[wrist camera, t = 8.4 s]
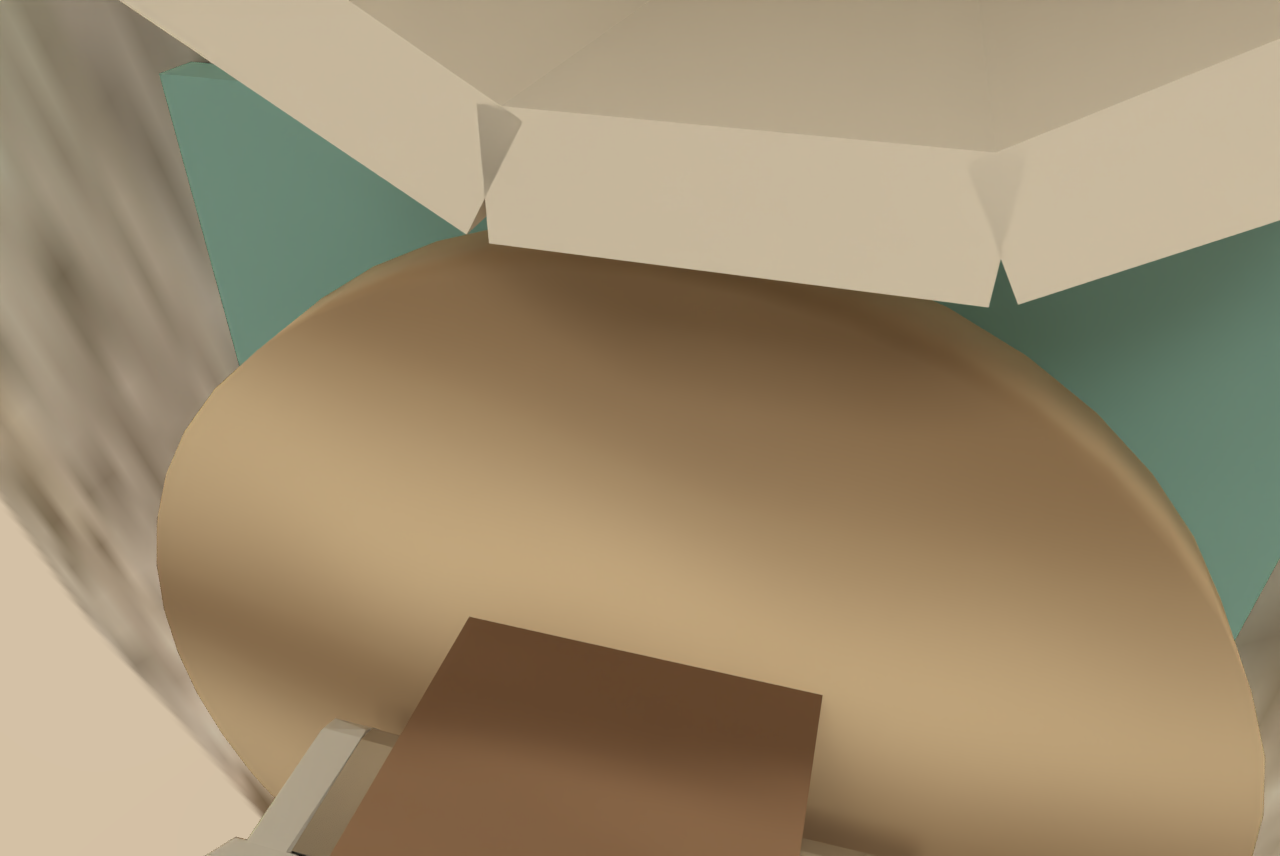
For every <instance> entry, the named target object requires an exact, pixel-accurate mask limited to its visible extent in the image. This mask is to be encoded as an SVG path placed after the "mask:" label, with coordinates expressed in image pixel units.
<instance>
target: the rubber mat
mask: <svg viewBox="0 0 1280 856" xmlns="http://www.w3.org/2000/svg"><path fill="white" fill-rule="evenodd" d="M159 75H160V79H161V82H162V86H163V90H164V93H165V97H166V101H167V104H168V108H169V112H170V115H171V119H172V122H173V126H174V130H175V133H176V137H177V141H178V144H179V148H180V152H181V155H182V159H183V163H184V166H185V170H186V173H187V177H188V181H189V184H190V188H191V192H192V195H193V199H194V203H195V206H196V210H197V213H198V217H199V221H200V224H201V228H202V232H203V235H204V239H205V243H206V246H207V250H208V253H209V257H210V261H211V264H212V268H213V272H214V275H215V279H216V283H217V286H218V290H219V294H220V297H221V301H222V304H223V308H224V312H225V315H226V319H227V323H228V326H229V330H230V334H231V337H232V341H233V344H234V348H235V352H236V355H237V359H238V363H239V366H241V365H242V364H243V363H244V362H245V361H246V360H247V359H248V358H249V357H250V356H252V355H253V354H254V353H255V352H256V351H257V350H258V349H260V348H261V347H262V346H263V345H265V344H266V343H267V342H268V341H269V340H271V339H272V338H273V337H274V336H276V335H277V334H278V333H279V332H281V331H282V330H283V329H284V328H286V327H287V326H288V325H289V324H290V323H292V322H293V321H294V320H295V319H297V318H298V317H299V316H300V315H302V314H303V313H304V312H305V311H307V310H308V309H309V308H310V307H311V306H313V305H314V304H315V303H316V302H318V301H319V300H320V299H321V298H323V297H324V296H326V295H328V294H329V293H331V292H333V291H334V290H336V289H338V288H339V287H341V286H342V285H344V284H346V283H347V282H349V281H351V280H352V279H354V278H355V277H357V276H359V275H360V274H362V273H364V272H365V271H367V270H369V269H370V268H372V267H373V266H376V265H378V264H381V263H383V262H386V261H388V260H391V259H393V258H396V257H398V256H401V255H403V254H406V253H408V252H411V251H413V250H416V249H418V248H421V247H423V246H426V245H428V244H431V243H434V242H436V241H440V240H444V239H449V238H453V237H458V236H462V235H466V234H465V233H463V232H462V231H460V230H459V229H457V228H456V227H455V226H453V225H452V224H450V223H449V222H447V221H446V220H444V219H443V218H441V217H440V216H438V215H437V214H435V213H434V212H432V211H431V210H429V209H428V208H426V207H425V206H423V205H422V204H420V203H419V202H417V201H416V200H414V199H413V198H411V197H410V196H409V195H407V194H406V193H404V192H403V191H401V190H400V189H398V188H397V187H395V186H394V185H392V184H391V183H389V182H388V181H386V180H385V179H383V178H382V177H380V176H379V175H377V174H376V173H374V172H373V171H371V170H370V169H368V168H367V167H365V166H364V165H363V164H361V163H360V162H358V161H357V160H355V159H354V158H352V157H351V156H349V155H348V154H346V153H345V152H343V151H342V150H340V149H339V148H337V147H336V146H334V145H333V144H331V143H330V142H328V141H327V140H325V139H324V138H322V137H321V136H319V135H318V134H317V133H315V132H314V131H312V130H311V129H309V128H308V127H306V126H305V125H303V124H302V123H300V122H299V121H297V120H296V119H294V118H293V117H291V116H290V115H288V114H287V113H285V112H284V111H282V110H281V109H279V108H278V107H276V106H275V105H274V104H272V103H271V102H269V101H268V100H266V99H265V98H263V97H262V96H260V95H259V94H257V93H256V92H254V91H253V90H251V89H250V88H248V87H247V86H245V85H244V84H242V83H241V82H239V81H238V80H236V79H235V78H233V77H232V76H230V75H229V74H228V73H226V72H225V71H223V70H222V69H220V68H219V67H217V66H216V65H214V64H211V63H200V62H190V63H187V64H184V65H181V66H179V67H176V68H173V69H170V70H168V71H165V72H162V73H159ZM484 230H488V227H487V216H486V217H485V218H484V219H483V220H482V221H481V222H480V223H479V224H478V225H477V226H475V227H474V228H473V229H472V230H471V231H470V232H469V233H468V234H471V233H475V232H480V231H484ZM933 301H934V300H933ZM935 302H937V303H939V304H941V305H944V306H946V307H948V308H950V309H951V310H953V311H955V312H956V313H958V314H959V315H961V316H963V317H964V318H966V319H968V320H969V321H971V322H972V323H974V324H976V325H977V326H979V327H981V328H982V329H984V330H985V331H987V332H989V333H990V334H992V335H994V336H995V337H997V338H998V339H1000V340H1002V341H1003V342H1005V343H1007V344H1008V345H1010V346H1011V347H1013V348H1015V349H1016V350H1018V351H1020V352H1021V353H1023V354H1024V355H1026V356H1028V357H1029V358H1030V359H1031V360H1033V361H1034V362H1035V363H1036V364H1038V365H1039V366H1040V367H1041V368H1042V369H1044V370H1045V371H1046V372H1047V373H1049V374H1050V375H1051V376H1052V377H1053V378H1055V379H1056V380H1057V381H1058V382H1060V383H1061V384H1062V385H1063V386H1064V387H1066V388H1067V389H1068V390H1069V391H1071V392H1072V393H1073V394H1074V395H1075V396H1077V397H1078V398H1079V399H1080V400H1082V401H1083V402H1084V403H1085V404H1086V405H1088V406H1089V407H1090V408H1091V409H1093V410H1094V411H1095V412H1096V413H1097V414H1098V415H1099V416H1100V417H1101V418H1102V419H1103V420H1104V421H1105V422H1106V424H1107V425H1108V426H1109V427H1110V428H1111V429H1112V430H1113V431H1114V432H1115V433H1116V434H1117V436H1118V437H1119V438H1120V439H1121V440H1122V441H1123V442H1124V443H1125V444H1126V445H1127V446H1128V448H1129V449H1130V450H1131V451H1132V452H1133V453H1134V454H1135V455H1136V456H1137V457H1138V459H1139V460H1140V461H1141V462H1142V463H1143V464H1144V465H1145V466H1146V467H1147V468H1148V469H1149V471H1150V472H1151V473H1152V474H1153V475H1154V477H1155V478H1156V480H1157V481H1158V483H1159V484H1160V486H1161V487H1162V489H1163V490H1164V492H1165V494H1166V495H1167V497H1168V498H1169V500H1170V501H1171V503H1172V504H1173V506H1174V507H1175V509H1176V510H1177V512H1178V513H1179V515H1180V516H1181V518H1182V519H1183V521H1184V522H1185V524H1186V525H1187V527H1188V528H1189V530H1190V531H1191V533H1192V535H1193V536H1194V538H1195V540H1196V543H1197V545H1198V547H1199V550H1200V552H1201V554H1202V557H1203V559H1204V561H1205V564H1206V566H1207V568H1208V571H1209V573H1210V575H1211V578H1212V580H1213V582H1214V585H1215V587H1216V589H1217V592H1218V594H1219V596H1220V599H1221V601H1222V604H1223V607H1224V610H1225V613H1226V616H1227V619H1228V622H1229V625H1230V628H1231V631H1232V635H1233V638H1234V641H1235V639H1236V637H1237V635H1238V634H1239V632H1240V630H1241V628H1242V626H1243V625H1244V623H1245V621H1246V619H1247V617H1248V615H1249V614H1250V612H1251V610H1252V608H1253V606H1254V604H1255V603H1256V601H1257V599H1258V597H1259V595H1260V593H1261V592H1262V590H1263V588H1264V586H1265V584H1266V582H1267V581H1268V579H1269V577H1270V575H1271V573H1272V571H1273V570H1274V568H1275V566H1276V564H1277V562H1278V560H1279V559H1280V220H1279V221H1276V222H1273V223H1270V224H1267V225H1264V226H1261V227H1257V228H1254V229H1251V230H1248V231H1245V232H1242V233H1239V234H1236V235H1233V236H1230V237H1226V238H1223V239H1220V240H1217V241H1214V242H1211V243H1208V244H1205V245H1202V246H1199V247H1195V248H1192V249H1189V250H1186V251H1183V252H1180V253H1177V254H1174V255H1171V256H1168V257H1164V258H1161V259H1158V260H1155V261H1152V262H1149V263H1146V264H1143V265H1140V266H1137V267H1133V268H1130V269H1127V270H1124V271H1121V272H1118V273H1115V274H1112V275H1109V276H1105V277H1102V278H1099V279H1096V280H1093V281H1090V282H1087V283H1084V284H1081V285H1078V286H1074V287H1071V288H1068V289H1065V290H1062V291H1059V292H1056V293H1053V294H1050V295H1047V296H1043V297H1040V298H1037V299H1034V300H1031V301H1028V302H1025V303H1022V304H1019V305H1018V303H1017V301H1016V298H1015V295H1014V293H1013V290H1012V287H1011V284H1010V282H1009V279H1008V276H1007V274H1006V271H1005V268H1004V266H1003V263H1002V260H1000V264H999V268H998V272H997V276H996V280H995V284H994V288H993V292H992V296H991V300H990V304H989V307H981V306H973V305H965V304H958V303H950V302H942V301H935Z"/></svg>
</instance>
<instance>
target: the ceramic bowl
mask: <svg viewBox="0 0 1280 856" xmlns="http://www.w3.org/2000/svg"><path fill="white" fill-rule="evenodd" d="M119 1H121V2H122V3H124V4H125V5H127V6H128V7H130V8H131V9H133V10H134V11H136V12H137V13H138V14H140V15H141V16H143V17H144V18H146V19H147V20H149V21H150V22H152V23H153V24H155V25H156V26H158V27H159V28H161V29H162V30H164V31H165V32H167V33H168V34H170V35H171V36H173V37H174V38H176V39H177V40H179V41H180V42H182V43H183V44H184V45H186V46H187V47H189V48H190V49H192V50H193V51H195V52H196V53H198V54H199V55H201V56H202V57H204V58H205V59H207V60H208V61H210V62H211V63H213V64H214V65H216V66H217V67H219V68H220V69H222V70H223V71H225V72H226V73H228V74H229V75H230V76H232V77H233V78H235V79H236V80H238V81H239V82H241V83H242V84H244V85H245V86H247V87H248V88H250V89H251V90H253V91H254V92H256V93H257V94H259V95H260V96H262V97H263V98H265V99H266V100H268V101H269V102H271V103H272V104H274V105H275V106H276V107H278V108H279V109H281V110H282V111H284V112H285V113H287V114H288V115H290V116H291V117H293V118H294V119H296V120H297V121H299V122H300V123H302V124H303V125H305V126H306V127H308V128H309V129H311V130H312V131H314V132H315V133H317V134H318V135H319V136H321V137H322V138H324V139H325V140H327V141H328V142H330V143H331V144H333V145H334V146H336V147H337V148H339V149H340V150H342V151H343V152H345V153H346V154H348V155H349V156H351V157H352V158H354V159H355V160H357V161H358V162H360V163H361V164H363V165H364V166H365V167H367V168H368V169H370V170H371V171H373V172H374V173H376V174H377V175H379V176H380V177H382V178H383V179H385V180H386V181H388V182H389V183H391V184H392V185H394V186H395V187H397V188H398V189H400V190H401V191H403V192H404V193H406V194H407V195H409V196H410V197H411V198H413V199H414V200H416V201H417V202H419V203H420V204H422V205H423V206H425V207H426V208H428V209H429V210H431V211H432V212H434V213H435V214H437V215H438V216H440V217H441V218H443V219H444V220H446V221H447V222H449V223H450V224H452V225H453V226H455V227H456V228H457V229H459V230H460V231H462V232H463V233H465V234H466V235H467V234H468V233H469V232H470V231H471V230H472V229H473V228H474V227H475V226H477V225H478V224H479V223H480V222H481V221H482V220H483V219H484V218H485V217H486V216H487V227H488V239H489V243H491V244H498V245H506V246H514V247H522V248H530V249H537V250H545V251H553V252H561V253H568V254H576V255H584V256H592V257H600V258H607V259H615V260H623V261H631V262H639V263H646V264H654V265H662V266H670V267H677V268H685V269H693V270H701V271H709V272H716V273H724V274H732V275H740V276H747V277H755V278H763V279H771V280H779V281H786V282H794V283H802V284H810V285H818V286H825V287H833V288H841V289H849V290H856V291H864V292H872V293H880V294H888V295H895V296H903V297H911V298H919V299H927V300H934V301H942V302H950V303H958V304H965V305H973V306H981V307H989V304H990V300H991V296H992V292H993V288H994V284H995V280H996V276H997V272H998V268H999V264H1000V260H1002V263H1003V266H1004V268H1005V271H1006V274H1007V276H1008V279H1009V282H1010V284H1011V287H1012V290H1013V293H1014V295H1015V298H1016V301H1017V303H1018V305H1019V304H1022V303H1025V302H1028V301H1031V300H1034V299H1037V298H1040V297H1043V296H1047V295H1050V294H1053V293H1056V292H1059V291H1062V290H1065V289H1068V288H1071V287H1074V286H1078V285H1081V284H1084V283H1087V282H1090V281H1093V280H1096V279H1099V278H1102V277H1105V276H1109V275H1112V274H1115V273H1118V272H1121V271H1124V270H1127V269H1130V268H1133V267H1137V266H1140V265H1143V264H1146V263H1149V262H1152V261H1155V260H1158V259H1161V258H1164V257H1168V256H1171V255H1174V254H1177V253H1180V252H1183V251H1186V250H1189V249H1192V248H1195V247H1199V246H1202V245H1205V244H1208V243H1211V242H1214V241H1217V240H1220V239H1223V238H1226V237H1230V236H1233V235H1236V234H1239V233H1242V232H1245V231H1248V230H1251V229H1254V228H1257V227H1261V226H1264V225H1267V224H1270V223H1273V222H1276V221H1279V220H1280V0H119Z"/></svg>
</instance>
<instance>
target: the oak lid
mask: <svg viewBox="0 0 1280 856" xmlns="http://www.w3.org/2000/svg"><path fill="white" fill-rule="evenodd" d="M157 569H158V575H159V581H160V587H161V593H162V600H163V606H164V610H165V613H166V617H167V620H168V623H169V626H170V629H171V632H172V635H173V638H174V641H175V644H176V648H177V651H178V653H179V655H180V658H181V660H182V662H183V664H184V666H185V668H186V670H187V672H188V675H189V677H190V679H191V681H192V683H193V685H194V687H195V689H196V692H197V694H198V695H199V697H200V699H201V700H202V702H203V704H204V705H205V707H206V708H207V710H208V712H209V713H210V715H211V717H212V718H213V720H214V721H215V723H216V725H217V726H218V728H219V730H220V731H221V733H222V734H223V736H224V737H225V738H226V740H227V741H228V742H229V744H230V745H231V746H232V748H233V749H234V750H235V752H236V753H237V754H238V756H239V757H240V758H241V759H242V761H243V762H244V763H245V765H246V766H247V767H248V769H249V770H250V771H251V773H252V774H253V775H254V776H255V777H256V778H257V779H258V780H259V781H260V783H261V784H262V785H263V786H264V787H265V788H266V789H267V790H268V791H269V793H270V794H271V795H272V796H273V797H274V798H275V797H276V796H277V794H278V793H279V792H280V790H281V789H282V787H283V786H284V784H285V783H286V781H287V780H288V778H289V777H290V775H291V774H292V772H293V771H294V769H295V768H296V766H297V765H298V763H299V762H300V760H301V759H302V758H303V756H304V755H305V753H306V752H307V750H308V749H309V747H310V746H311V744H312V743H313V741H314V740H315V738H316V737H317V735H318V734H319V732H320V731H321V730H322V729H323V728H324V727H325V726H327V725H328V724H329V723H330V722H331V721H332V720H334V719H335V718H336V719H340V720H344V721H348V722H353V723H357V724H361V725H365V726H369V727H373V728H376V729H379V730H381V731H385V732H389V733H393V734H397V735H400V736H399V738H398V740H397V741H396V743H395V745H394V746H393V748H392V750H391V752H390V753H389V755H388V757H387V758H386V760H385V762H384V764H383V765H382V767H381V769H380V770H379V772H378V774H377V776H376V777H375V779H374V781H373V782H372V784H371V786H370V788H369V789H368V791H367V793H366V794H365V796H364V798H363V800H362V801H361V803H360V805H359V806H358V808H357V810H356V812H355V813H354V815H353V817H352V818H351V820H350V822H349V824H348V825H347V827H346V829H345V830H344V832H343V834H342V836H341V837H340V839H339V841H338V842H337V844H336V846H335V848H334V849H333V851H332V853H331V854H330V856H800V849H801V842H802V838H804V839H809V840H813V841H817V842H821V843H825V844H830V845H834V846H838V847H842V848H847V849H851V850H855V851H859V852H863V853H868V854H872V855H876V856H1252V855H1253V851H1254V848H1255V844H1256V840H1257V837H1258V833H1259V829H1260V826H1261V822H1262V819H1263V810H1264V775H1265V755H1264V750H1263V745H1262V740H1261V735H1260V730H1259V725H1258V721H1257V716H1256V711H1255V706H1254V701H1253V696H1252V692H1251V689H1250V686H1249V683H1248V680H1247V677H1246V674H1245V671H1244V668H1243V665H1242V662H1241V659H1240V656H1239V653H1238V650H1237V647H1236V644H1235V641H1234V638H1233V635H1232V631H1231V628H1230V625H1229V622H1228V619H1227V616H1226V613H1225V610H1224V607H1223V604H1222V601H1221V599H1220V596H1219V594H1218V592H1217V589H1216V587H1215V585H1214V582H1213V580H1212V578H1211V575H1210V573H1209V571H1208V568H1207V566H1206V564H1205V561H1204V559H1203V557H1202V554H1201V552H1200V550H1199V547H1198V545H1197V543H1196V540H1195V538H1194V536H1193V535H1192V533H1191V531H1190V530H1189V528H1188V527H1187V525H1186V524H1185V522H1184V521H1183V519H1182V518H1181V516H1180V515H1179V513H1178V512H1177V510H1176V509H1175V507H1174V506H1173V504H1172V503H1171V501H1170V500H1169V498H1168V497H1167V495H1166V494H1165V492H1164V490H1163V489H1162V487H1161V486H1160V484H1159V483H1158V481H1157V480H1156V478H1155V477H1154V475H1153V474H1152V473H1151V472H1150V471H1149V469H1148V468H1147V467H1146V466H1145V465H1144V464H1143V463H1142V462H1141V461H1140V460H1139V459H1138V457H1137V456H1136V455H1135V454H1134V453H1133V452H1132V451H1131V450H1130V449H1129V448H1128V446H1127V445H1126V444H1125V443H1124V442H1123V441H1122V440H1121V439H1120V438H1119V437H1118V436H1117V434H1116V433H1115V432H1114V431H1113V430H1112V429H1111V428H1110V427H1109V426H1108V425H1107V424H1106V422H1105V421H1104V420H1103V419H1102V418H1101V417H1100V416H1099V415H1098V414H1097V413H1096V412H1095V411H1094V410H1093V409H1091V408H1090V407H1089V406H1088V405H1086V404H1085V403H1084V402H1083V401H1082V400H1080V399H1079V398H1078V397H1077V396H1075V395H1074V394H1073V393H1072V392H1071V391H1069V390H1068V389H1067V388H1066V387H1064V386H1063V385H1062V384H1061V383H1060V382H1058V381H1057V380H1056V379H1055V378H1053V377H1052V376H1051V375H1050V374H1049V373H1047V372H1046V371H1045V370H1044V369H1042V368H1041V367H1040V366H1039V365H1038V364H1036V363H1035V362H1034V361H1033V360H1031V359H1030V358H1029V357H1028V356H1026V355H1024V354H1023V353H1021V352H1020V351H1018V350H1016V349H1015V348H1013V347H1011V346H1010V345H1008V344H1007V343H1005V342H1003V341H1002V340H1000V339H998V338H997V337H995V336H994V335H992V334H990V333H989V332H987V331H985V330H984V329H982V328H981V327H979V326H977V325H976V324H974V323H972V322H971V321H969V320H968V319H966V318H964V317H963V316H961V315H959V314H958V313H956V312H955V311H953V310H951V309H950V308H948V307H946V306H944V305H941V304H939V303H937V302H935V301H933V300H927V299H919V298H911V297H903V296H895V295H888V294H880V293H872V292H864V291H856V290H849V289H841V288H833V287H825V286H818V285H810V284H802V283H794V282H786V281H779V280H771V279H763V278H755V277H747V276H740V275H732V274H724V273H716V272H709V271H701V270H693V269H685V268H677V267H670V266H662V265H654V264H646V263H639V262H631V261H623V260H615V259H607V258H600V257H592V256H584V255H576V254H568V253H561V252H553V251H545V250H537V249H530V248H522V247H514V246H506V245H498V244H491V243H489V239H488V230H484V231H480V232H475V233H471V234H467V235H462V236H458V237H453V238H449V239H444V240H440V241H436V242H434V243H431V244H428V245H426V246H423V247H421V248H418V249H416V250H413V251H411V252H408V253H406V254H403V255H401V256H398V257H396V258H393V259H391V260H388V261H386V262H383V263H381V264H378V265H376V266H373V267H372V268H370V269H369V270H367V271H365V272H364V273H362V274H360V275H359V276H357V277H355V278H354V279H352V280H351V281H349V282H347V283H346V284H344V285H342V286H341V287H339V288H338V289H336V290H334V291H333V292H331V293H329V294H328V295H326V296H324V297H323V298H321V299H320V300H319V301H318V302H316V303H315V304H314V305H313V306H311V307H310V308H309V309H308V310H307V311H305V312H304V313H303V314H302V315H300V316H299V317H298V318H297V319H295V320H294V321H293V322H292V323H290V324H289V325H288V326H287V327H286V328H284V329H283V330H282V331H281V332H279V333H278V334H277V335H276V336H274V337H273V338H272V339H271V340H269V341H268V342H267V343H266V344H265V345H263V346H262V347H261V348H260V349H258V350H257V351H256V352H255V353H254V354H253V355H252V356H250V357H249V358H248V359H247V360H246V361H245V362H244V363H243V364H242V365H241V366H239V367H238V368H237V369H236V370H235V371H234V372H233V373H232V374H231V375H230V376H228V377H227V378H226V379H225V380H224V381H223V382H222V383H221V384H220V385H219V386H217V387H216V388H215V389H214V391H213V392H212V394H211V395H210V396H209V398H208V399H207V400H206V402H205V403H204V405H203V406H202V407H201V409H200V410H199V412H198V413H197V414H196V416H195V417H194V419H193V420H192V421H191V423H190V424H189V426H188V427H187V428H186V430H185V432H184V434H183V436H182V439H181V441H180V443H179V446H178V448H177V450H176V452H175V455H174V457H173V459H172V462H171V464H170V466H169V469H168V471H167V473H166V477H165V482H164V487H163V492H162V497H161V502H160V507H159V512H158V517H157Z"/></svg>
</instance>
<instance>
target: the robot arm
mask: <svg viewBox="0 0 1280 856" xmlns="http://www.w3.org/2000/svg"><path fill="white" fill-rule="evenodd" d="M399 736H400V735H397V734H393V733H389V732H385V731H381V730H379V729H376V728H373V727H369V726H365V725H361V724H357V723H353V722H348V721H344V720H340V719H336V718H335V719H334V720H332V721H331V722H330V723H329V724H328V725H327V726H325V727H324V728H323V729H322V730H321V731H320V732H319V734H318V735H317V737H316V738H315V740H314V741H313V743H312V744H311V746H310V747H309V749H308V750H307V752H306V753H305V755H304V756H303V758H302V759H301V760H300V762H299V763H298V765H297V766H296V768H295V769H294V771H293V772H292V774H291V775H290V777H289V778H288V780H287V781H286V783H285V784H284V786H283V787H282V789H281V790H280V792H279V793H278V794H277V796H276V797H275V799H274V800H273V802H272V803H271V805H270V806H269V808H268V809H267V811H266V812H265V814H264V815H263V817H262V818H261V820H260V821H259V823H258V824H257V826H256V827H255V829H254V830H253V831H252V833H251V834H250V836H249V837H248V839H243V838H239V837H235V838H233V839H231V840H230V841H228V842H227V843H225V844H224V845H222V846H220V847H218V848H217V849H215V850H213V851H212V852H210V853H209V854H207V855H205V856H330V854H331V853H332V851H333V849H334V848H335V846H336V844H337V842H338V841H339V839H340V837H341V836H342V834H343V832H344V830H345V829H346V827H347V825H348V824H349V822H350V820H351V818H352V817H353V815H354V813H355V812H356V810H357V808H358V806H359V805H360V803H361V801H362V800H363V798H364V796H365V794H366V793H367V791H368V789H369V788H370V786H371V784H372V782H373V781H374V779H375V777H376V776H377V774H378V772H379V770H380V769H381V767H382V765H383V764H384V762H385V760H386V758H387V757H388V755H389V753H390V752H391V750H392V748H393V746H394V745H395V743H396V741H397V740H398V738H399ZM800 856H876V855H872V854H868V853H863V852H859V851H855V850H851V849H847V848H842V847H838V846H834V845H830V844H825V843H821V842H817V841H813V840H809V839H804V838H802V842H801V849H800Z"/></svg>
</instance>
